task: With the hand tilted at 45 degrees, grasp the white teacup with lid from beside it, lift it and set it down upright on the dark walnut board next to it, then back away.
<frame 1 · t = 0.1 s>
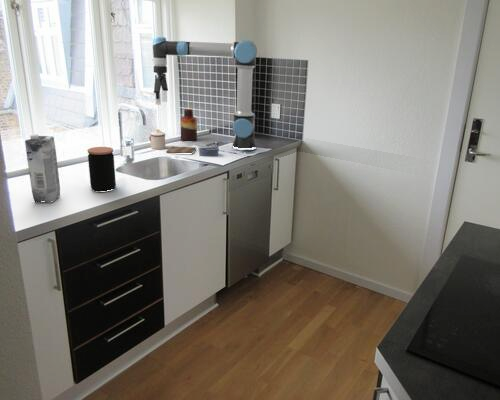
hand: (161, 103, 258), 28 cm above the worktop, tool pointing down, fingers open, 13 cm apart
teacup with lid: (156, 148, 271), on the worktop
coffee jar: (103, 189, 195), on the worktop
juice carton: (47, 199, 180), on the worktop
walnut board: (181, 151, 265), on the worktop
vase: (188, 140, 295), on the worktop
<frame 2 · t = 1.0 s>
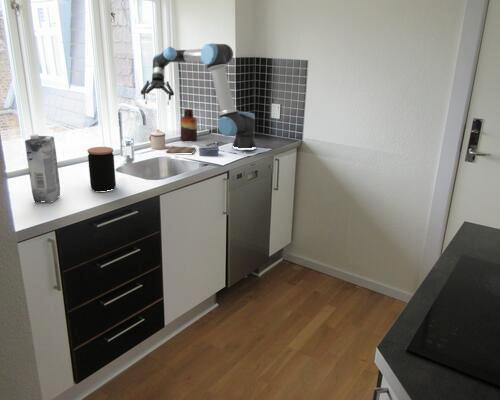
hand: (157, 103, 272), 26 cm above the worktop, tool tilted 45°, fingers open, 13 cm apart
nothing on the worktop moved.
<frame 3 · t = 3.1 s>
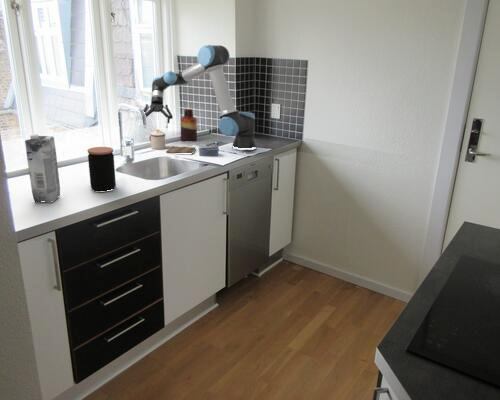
hand: (155, 126, 273), 12 cm above the worktop, tool tilted 45°, fingers open, 13 cm apart
nothing on the worktop moved.
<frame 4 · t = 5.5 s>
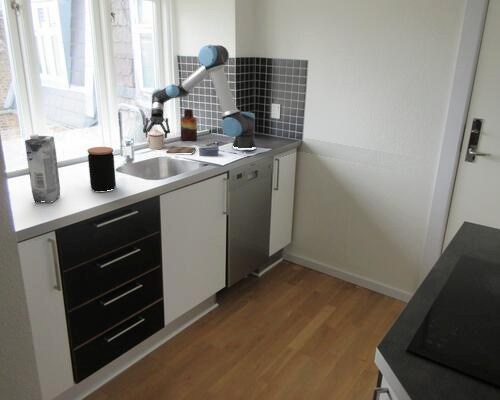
hand: (156, 142, 267), 4 cm above the worktop, tool tilted 45°, fingers closed on teacup with lid, 9 cm apart
teacup with lid: (155, 147, 271), on the worktop, touching gripper
everything else where it was.
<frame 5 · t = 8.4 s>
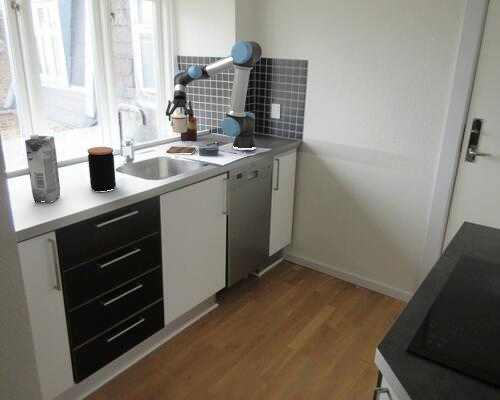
hand: (179, 125, 256), 17 cm above the worktop, tool tilted 45°, fingers closed on teacup with lid, 9 cm apart
teacup with lid: (178, 131, 261), point 12 cm above the worktop, touching gripper
everything else where it was.
when the fingers open (7 cm above the worktop, at t = 10.9 s): teacup with lid drops 1 cm, resting on walnut board.
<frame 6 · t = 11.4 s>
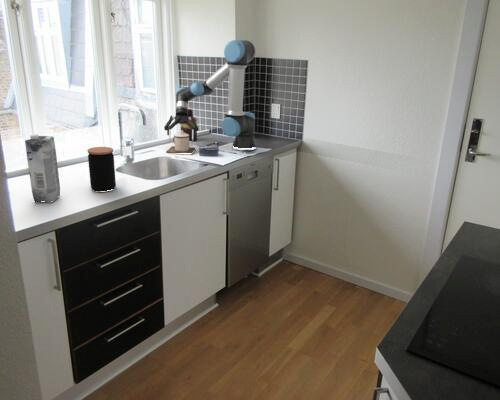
hand: (181, 139, 260), 8 cm above the worktop, tool tilted 45°, fingers open, 13 cm apart
teacup with lid: (180, 149, 264), point 1 cm above the worktop, touching walnut board
everything else where it was.
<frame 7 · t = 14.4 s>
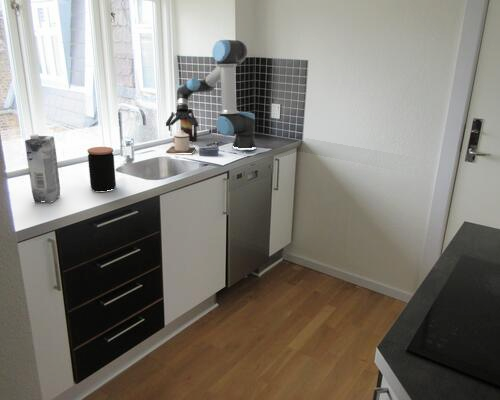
hand: (182, 135, 272), 8 cm above the worktop, tool tilted 45°, fingers open, 13 cm apart
nothing on the worktop moved.
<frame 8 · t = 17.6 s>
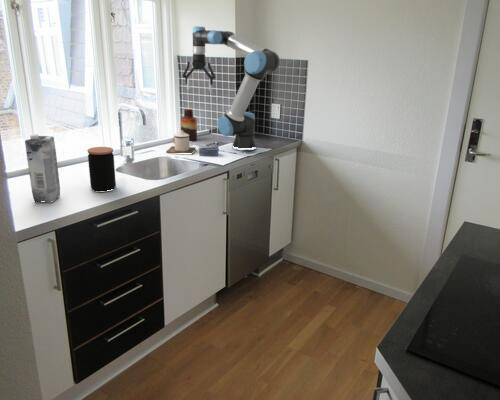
hand: (199, 89, 272), 35 cm above the worktop, tool pointing down, fingers open, 13 cm apart
nothing on the worktop moved.
at the end: teacup with lid inside the target area on the walnut board (0.7 cm from its centre), point 1.0 cm above the walnut board's base; teacup with lid tilted 0°; the gripper is holding nothing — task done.
